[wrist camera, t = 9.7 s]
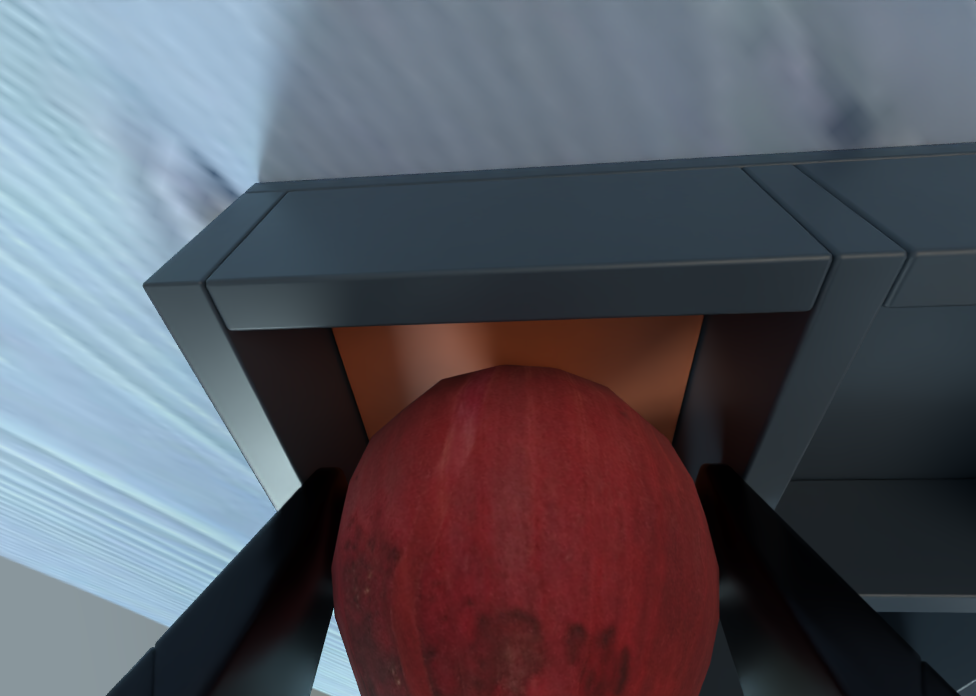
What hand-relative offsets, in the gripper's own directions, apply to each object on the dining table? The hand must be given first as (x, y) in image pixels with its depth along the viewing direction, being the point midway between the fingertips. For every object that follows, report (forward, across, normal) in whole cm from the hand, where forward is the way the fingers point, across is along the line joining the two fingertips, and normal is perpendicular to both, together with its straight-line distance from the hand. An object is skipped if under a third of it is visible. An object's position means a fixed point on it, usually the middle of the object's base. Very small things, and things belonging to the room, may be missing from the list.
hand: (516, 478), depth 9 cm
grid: (+3, -4, +4) cm, 7 cm away
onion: (+3, 0, 0) cm, 3 cm away
